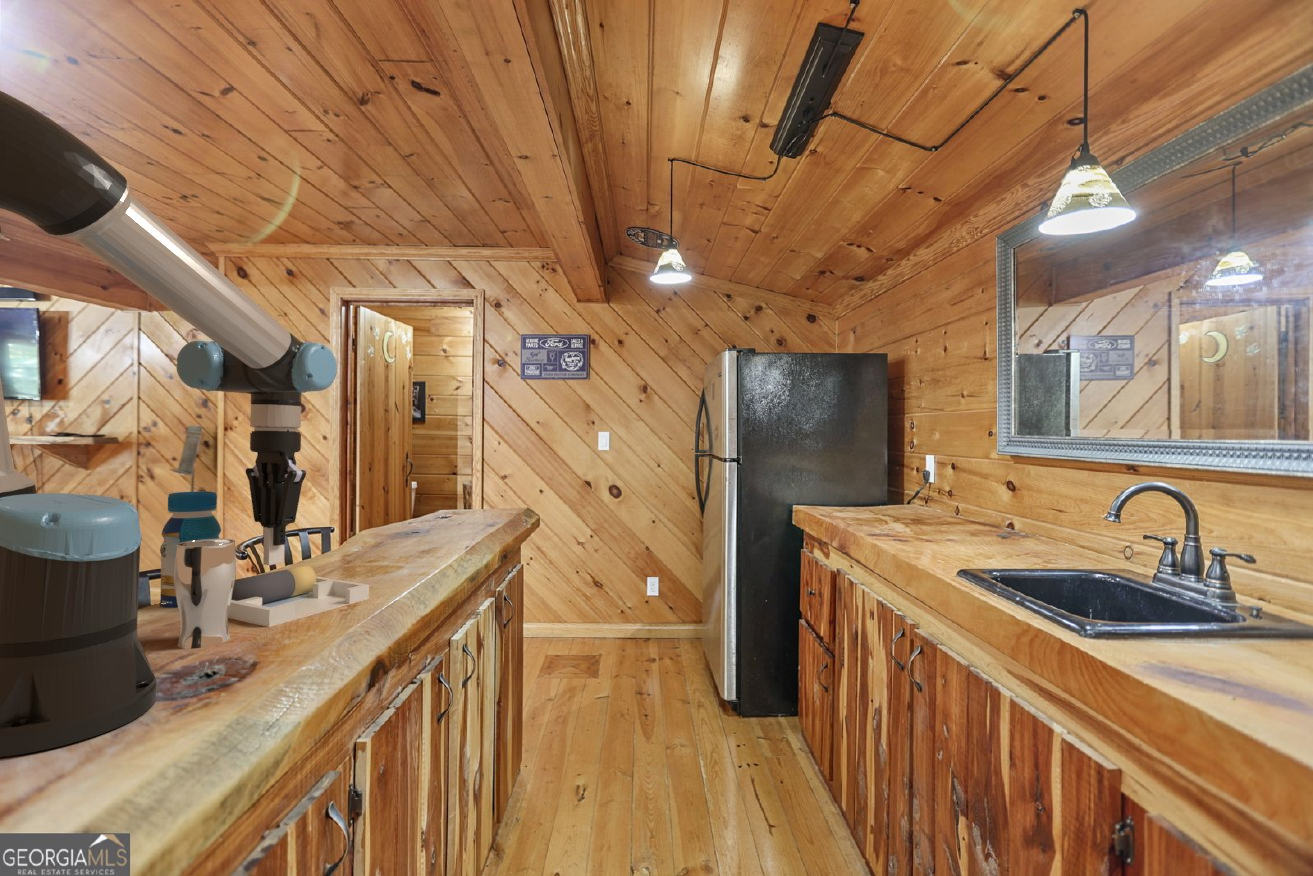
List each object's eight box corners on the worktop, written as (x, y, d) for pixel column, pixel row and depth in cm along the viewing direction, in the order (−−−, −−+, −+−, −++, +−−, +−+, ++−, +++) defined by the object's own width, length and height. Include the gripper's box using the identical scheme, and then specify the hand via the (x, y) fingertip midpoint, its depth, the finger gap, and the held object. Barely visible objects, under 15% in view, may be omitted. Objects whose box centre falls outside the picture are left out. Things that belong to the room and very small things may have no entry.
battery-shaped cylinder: (242, 612, 96) (242, 581, 96) (223, 609, 98) (223, 579, 98) (316, 593, 107) (316, 566, 108) (298, 591, 109) (298, 564, 110)
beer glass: (246, 641, 86) (248, 539, 86) (205, 658, 79) (207, 547, 79) (203, 638, 86) (205, 537, 86) (158, 655, 79) (161, 545, 79)
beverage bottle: (205, 612, 99) (208, 494, 99) (147, 615, 97) (149, 495, 97) (229, 599, 107) (232, 490, 107) (176, 601, 105) (178, 490, 105)
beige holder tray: (269, 633, 89) (269, 610, 89) (199, 617, 96) (200, 596, 96) (368, 604, 106) (369, 584, 106) (303, 592, 113) (304, 574, 113)
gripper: (321, 430, 104) (318, 563, 104) (273, 430, 109) (271, 556, 109) (279, 429, 97) (277, 571, 97) (230, 429, 102) (228, 563, 102)
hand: (273, 563), depth 103 cm, fingers closed
